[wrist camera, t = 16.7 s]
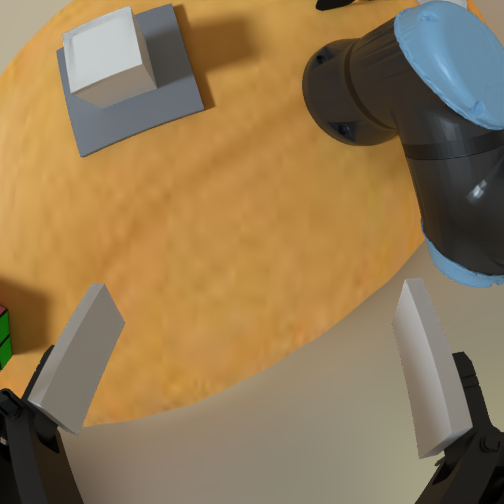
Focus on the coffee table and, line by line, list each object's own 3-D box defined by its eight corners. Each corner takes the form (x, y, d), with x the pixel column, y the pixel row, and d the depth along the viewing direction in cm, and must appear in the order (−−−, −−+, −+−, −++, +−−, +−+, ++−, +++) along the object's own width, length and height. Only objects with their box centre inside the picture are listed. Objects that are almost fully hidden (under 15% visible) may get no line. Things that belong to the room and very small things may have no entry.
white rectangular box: (145, 41, 28) (129, 5, 19) (157, 88, 31) (142, 63, 21) (92, 61, 28) (62, 34, 18) (102, 108, 30) (70, 93, 21)
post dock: (172, 7, 28) (167, -25, 20) (204, 110, 33) (205, 96, 26) (59, 53, 27) (32, 34, 19) (84, 157, 32) (56, 157, 25)
